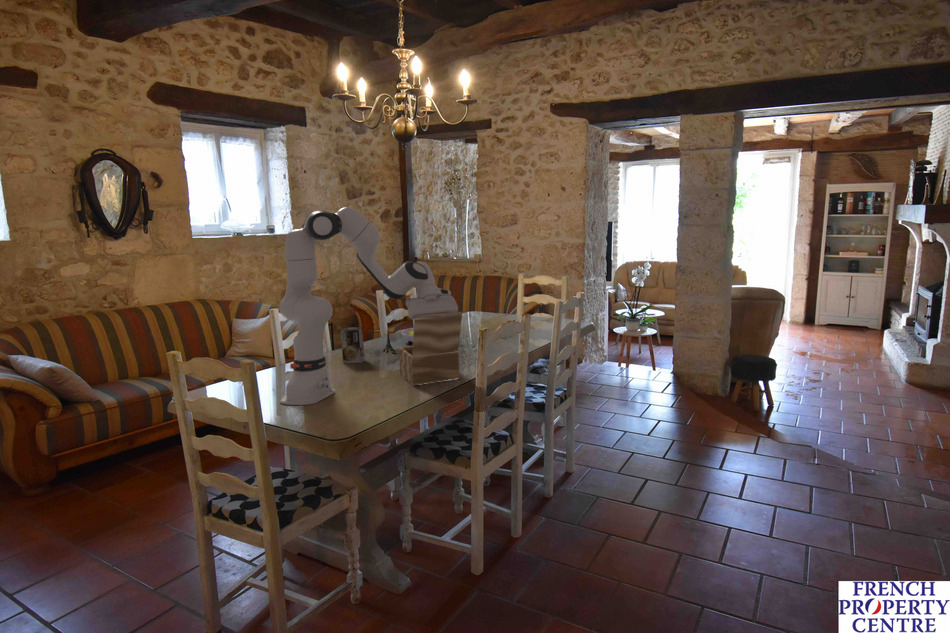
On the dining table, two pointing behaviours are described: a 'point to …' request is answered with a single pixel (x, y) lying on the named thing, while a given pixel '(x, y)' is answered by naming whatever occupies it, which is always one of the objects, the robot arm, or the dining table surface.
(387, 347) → the eiffel tower figurine
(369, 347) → the dining table surface
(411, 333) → the fruit bowl
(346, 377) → the dining table surface
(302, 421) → the dining table surface
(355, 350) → the coffee box
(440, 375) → the carton
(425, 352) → the carton flap
